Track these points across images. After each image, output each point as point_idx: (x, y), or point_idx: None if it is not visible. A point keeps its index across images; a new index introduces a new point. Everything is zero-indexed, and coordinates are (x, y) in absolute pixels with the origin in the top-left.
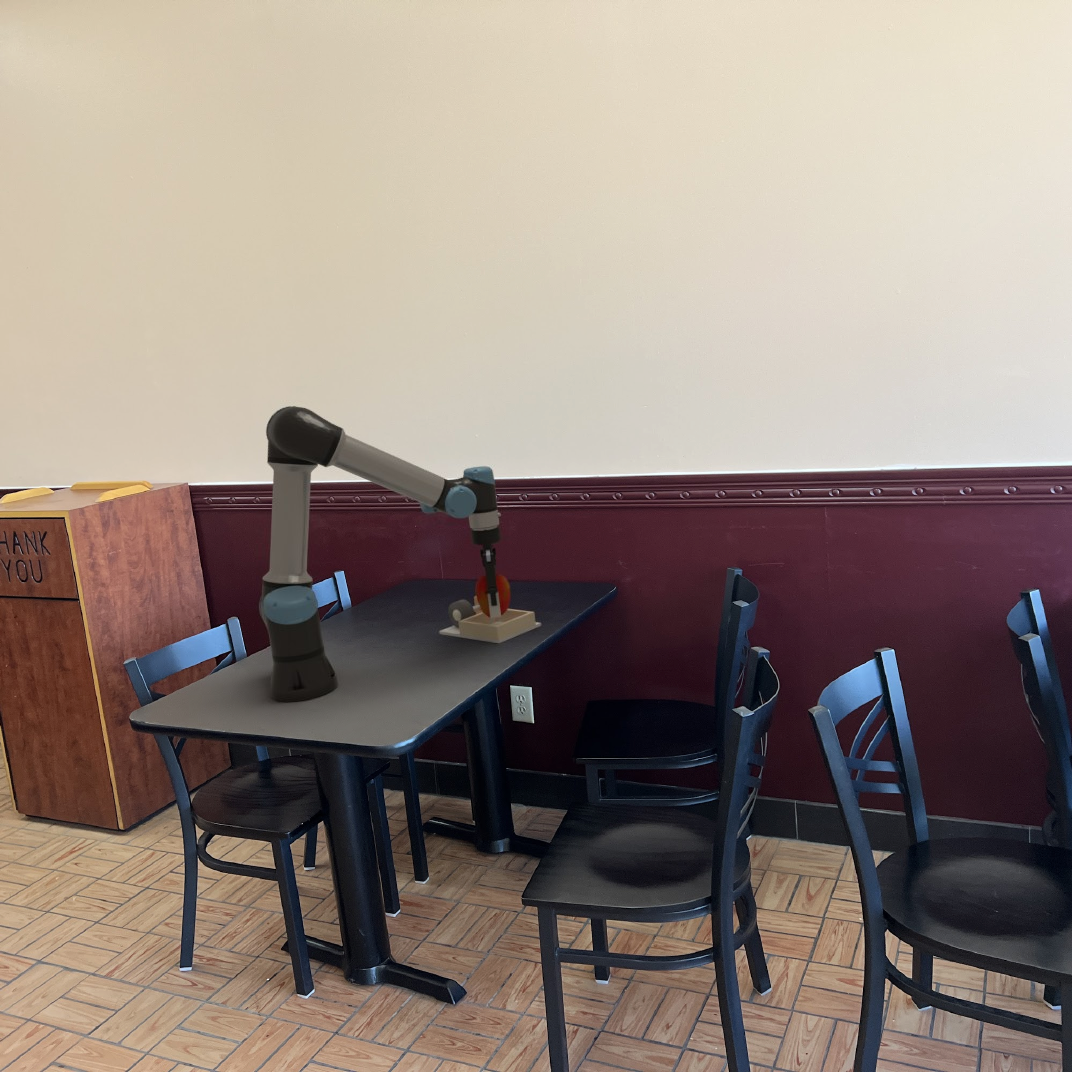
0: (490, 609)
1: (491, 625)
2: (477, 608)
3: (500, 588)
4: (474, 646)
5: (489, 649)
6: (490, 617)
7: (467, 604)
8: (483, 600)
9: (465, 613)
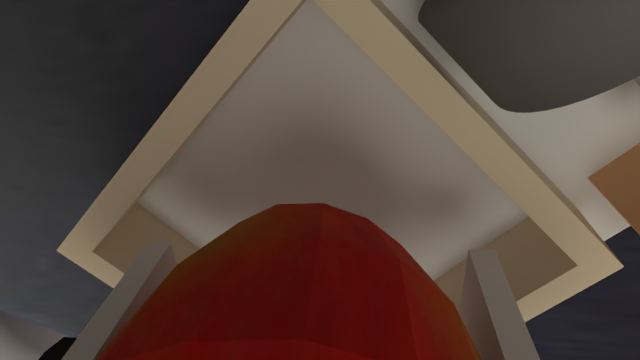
0: (114, 298)
1: (95, 221)
2: None
3: None
4: (77, 56)
5: (14, 144)
6: (146, 245)
7: (545, 68)
8: (132, 316)
9: (427, 19)
